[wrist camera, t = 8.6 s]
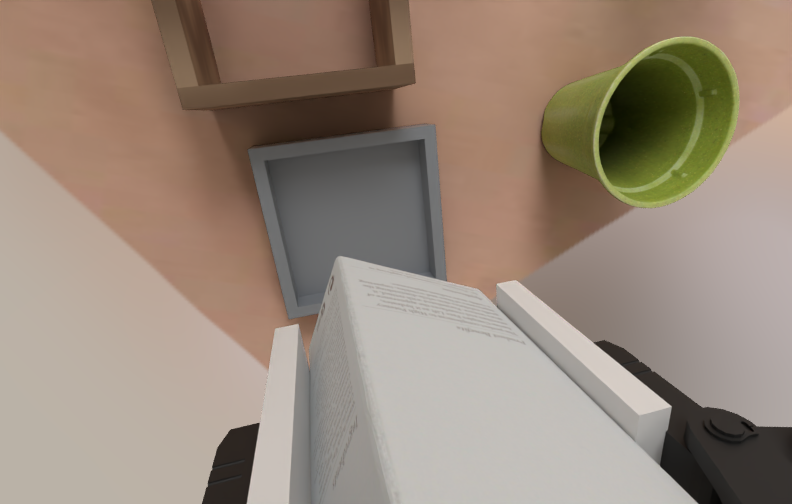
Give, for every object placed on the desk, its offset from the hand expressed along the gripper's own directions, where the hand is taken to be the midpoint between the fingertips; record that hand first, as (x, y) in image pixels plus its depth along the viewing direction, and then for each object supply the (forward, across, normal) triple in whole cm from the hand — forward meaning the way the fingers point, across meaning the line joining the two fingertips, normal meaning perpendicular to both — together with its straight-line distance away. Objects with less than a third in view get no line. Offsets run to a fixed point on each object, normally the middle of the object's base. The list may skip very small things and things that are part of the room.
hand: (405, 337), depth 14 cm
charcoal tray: (+17, 0, 0) cm, 17 cm away
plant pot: (+17, +18, +5) cm, 25 cm away
